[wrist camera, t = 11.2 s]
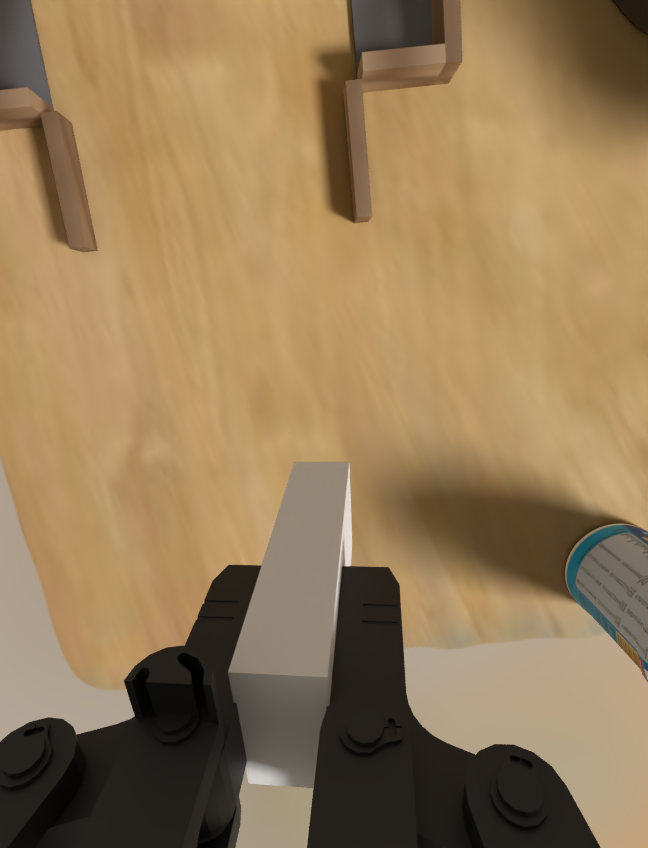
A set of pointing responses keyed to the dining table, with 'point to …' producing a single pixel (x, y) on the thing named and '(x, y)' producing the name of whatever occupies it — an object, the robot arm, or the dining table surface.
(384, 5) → the wooden tray
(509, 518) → the dining table surface
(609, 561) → the beverage bottle
